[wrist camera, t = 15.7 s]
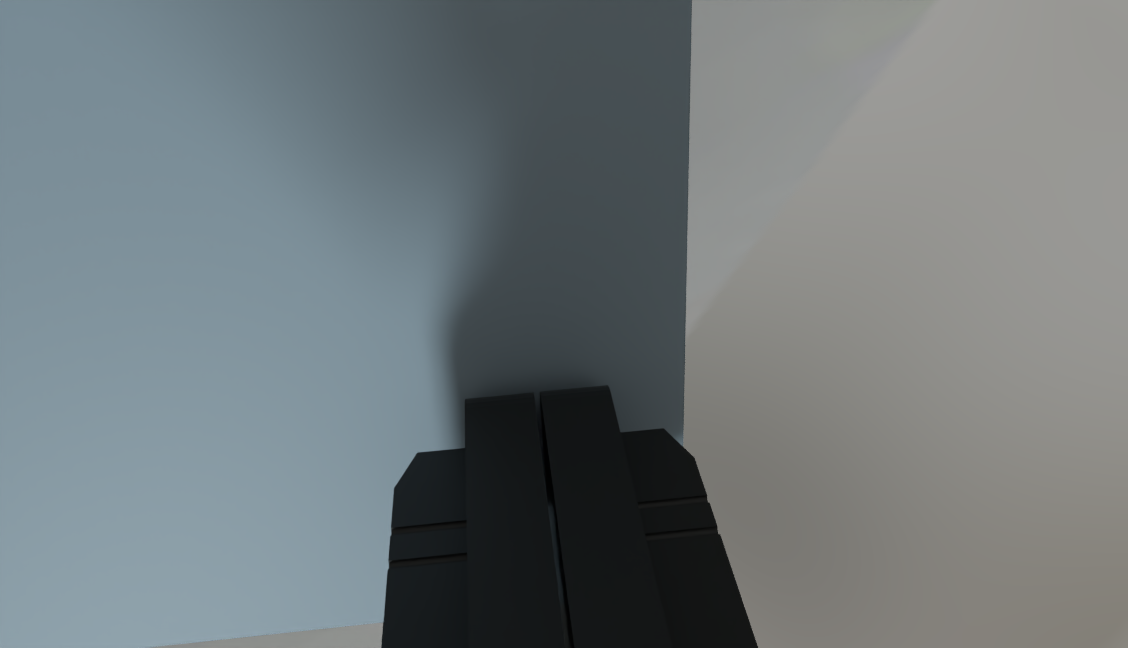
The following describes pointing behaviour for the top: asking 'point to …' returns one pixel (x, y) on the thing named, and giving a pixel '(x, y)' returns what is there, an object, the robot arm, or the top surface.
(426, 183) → the lid
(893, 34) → the top surface
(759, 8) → the top surface
